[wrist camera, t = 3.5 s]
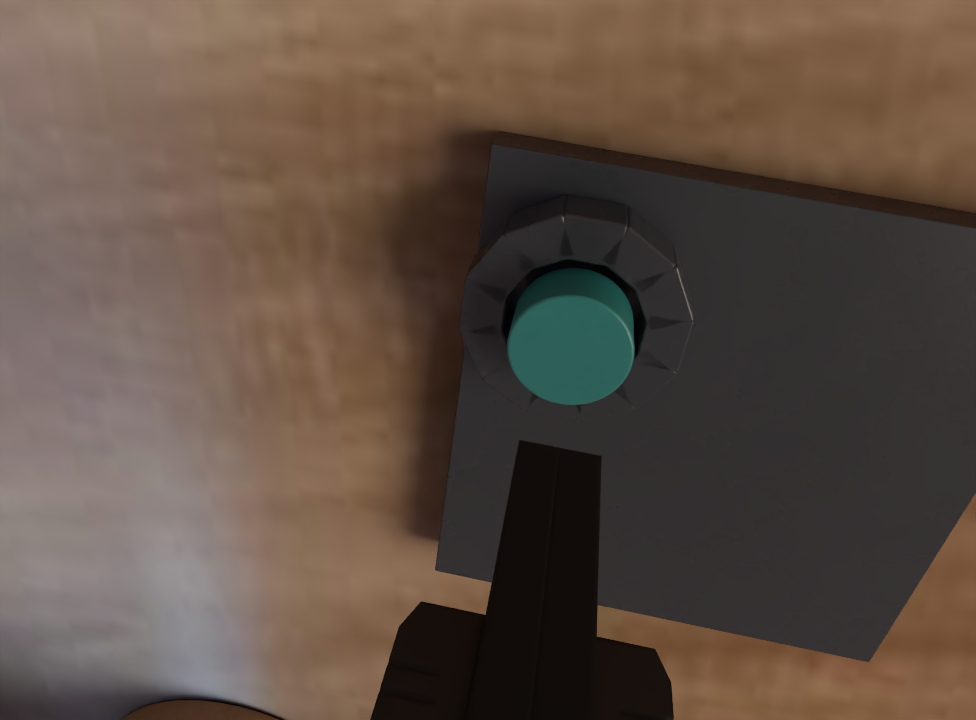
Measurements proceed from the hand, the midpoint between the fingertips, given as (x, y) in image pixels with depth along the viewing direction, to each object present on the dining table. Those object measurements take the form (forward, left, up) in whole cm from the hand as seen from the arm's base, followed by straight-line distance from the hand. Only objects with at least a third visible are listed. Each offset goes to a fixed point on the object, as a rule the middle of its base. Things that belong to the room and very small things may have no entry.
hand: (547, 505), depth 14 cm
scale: (-5, +4, -10) cm, 12 cm away
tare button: (0, 0, -7) cm, 7 cm away
